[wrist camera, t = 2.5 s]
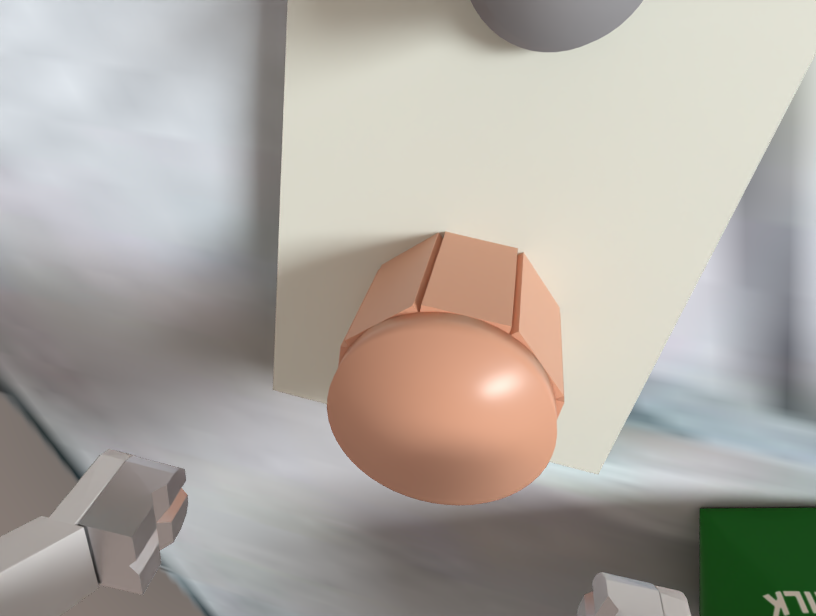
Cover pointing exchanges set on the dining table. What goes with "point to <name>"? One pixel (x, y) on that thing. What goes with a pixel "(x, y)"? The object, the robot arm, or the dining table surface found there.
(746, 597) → the milk carton
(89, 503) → the robot arm
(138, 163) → the dining table surface
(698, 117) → the post board
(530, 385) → the cap
